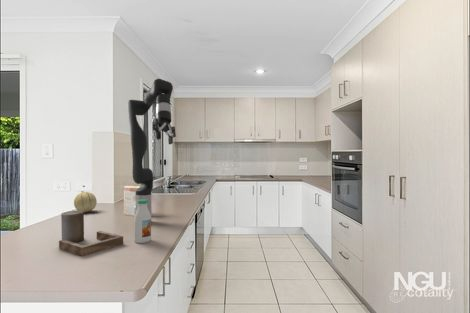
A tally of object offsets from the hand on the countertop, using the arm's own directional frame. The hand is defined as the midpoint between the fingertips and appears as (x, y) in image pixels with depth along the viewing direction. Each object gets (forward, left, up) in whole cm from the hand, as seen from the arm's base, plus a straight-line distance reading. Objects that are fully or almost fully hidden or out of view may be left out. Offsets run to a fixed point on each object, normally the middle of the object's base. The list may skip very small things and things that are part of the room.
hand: (164, 141), depth 150 cm
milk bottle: (-4, -10, -49) cm, 50 cm away
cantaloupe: (-93, +14, -49) cm, 106 cm away
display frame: (-18, -28, -49) cm, 59 cm away
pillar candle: (-33, -28, -49) cm, 65 cm away
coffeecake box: (-57, +28, -49) cm, 80 cm away
